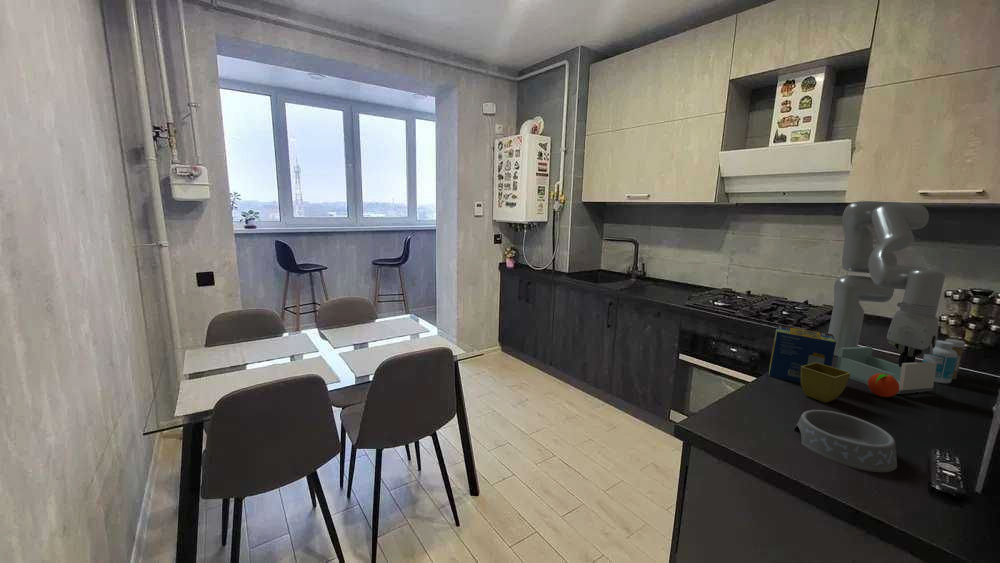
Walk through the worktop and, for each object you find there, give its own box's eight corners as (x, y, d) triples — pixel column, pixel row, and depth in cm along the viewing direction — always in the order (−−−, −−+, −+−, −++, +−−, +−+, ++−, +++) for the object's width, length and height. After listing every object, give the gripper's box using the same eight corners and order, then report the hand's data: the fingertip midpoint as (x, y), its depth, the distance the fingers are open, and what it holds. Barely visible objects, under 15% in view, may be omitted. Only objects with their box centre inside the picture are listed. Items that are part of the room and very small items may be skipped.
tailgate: (897, 392, 121) (901, 363, 120) (928, 389, 124) (933, 361, 123) (901, 393, 120) (905, 364, 119) (933, 391, 123) (937, 362, 122)
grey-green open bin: (834, 372, 139) (839, 347, 137) (863, 370, 142) (868, 346, 140) (892, 394, 122) (898, 366, 121) (923, 392, 126) (930, 364, 124)
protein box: (769, 367, 140) (776, 324, 138) (824, 379, 132) (833, 334, 129) (768, 376, 132) (775, 331, 129) (827, 389, 123) (837, 341, 121)
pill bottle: (943, 378, 139) (952, 341, 136) (956, 386, 132) (966, 347, 130) (914, 373, 142) (923, 337, 139) (925, 381, 135) (935, 342, 133)
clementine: (887, 403, 116) (892, 380, 115) (858, 393, 122) (863, 371, 121) (901, 399, 119) (906, 376, 118) (872, 389, 125) (877, 368, 124)
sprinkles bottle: (957, 378, 140) (966, 341, 137) (954, 380, 137) (964, 343, 135) (938, 373, 143) (947, 337, 141) (935, 375, 141) (944, 339, 139)
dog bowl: (807, 458, 86) (812, 435, 85) (786, 420, 103) (790, 400, 102) (911, 483, 80) (918, 458, 79) (871, 438, 96) (876, 417, 95)
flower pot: (829, 407, 111) (835, 377, 109) (794, 394, 118) (800, 365, 117) (845, 402, 115) (851, 372, 113) (810, 390, 122) (815, 362, 121)
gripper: (881, 304, 128) (869, 359, 131) (941, 316, 114) (926, 377, 117) (898, 304, 130) (886, 358, 133) (959, 316, 115) (944, 376, 118)
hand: (905, 367), depth 125 cm, fingers closed
